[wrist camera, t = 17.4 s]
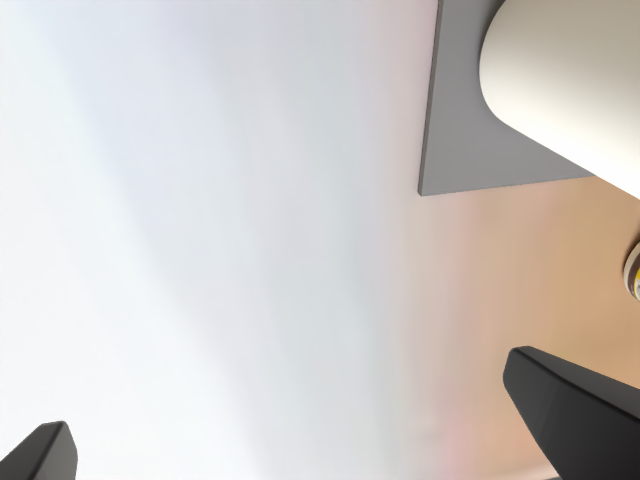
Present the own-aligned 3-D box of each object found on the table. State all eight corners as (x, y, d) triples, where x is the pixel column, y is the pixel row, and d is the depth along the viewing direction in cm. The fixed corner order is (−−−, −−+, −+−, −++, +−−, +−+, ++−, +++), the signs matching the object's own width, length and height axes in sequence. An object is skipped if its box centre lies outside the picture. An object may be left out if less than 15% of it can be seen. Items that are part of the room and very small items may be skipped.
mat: (417, 192, 23) (421, 196, 22) (446, -63, 17) (451, -64, 17) (603, 170, 25) (609, 174, 24) (678, -64, 19) (687, -64, 19)
